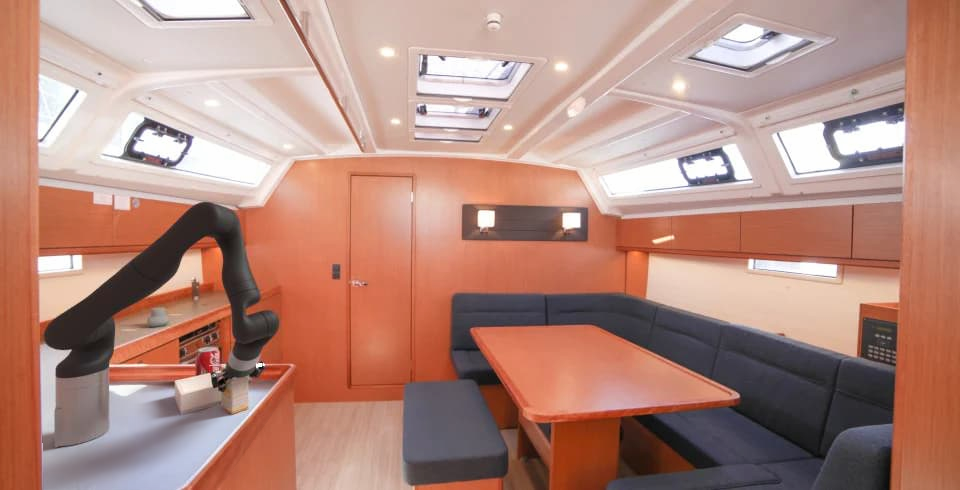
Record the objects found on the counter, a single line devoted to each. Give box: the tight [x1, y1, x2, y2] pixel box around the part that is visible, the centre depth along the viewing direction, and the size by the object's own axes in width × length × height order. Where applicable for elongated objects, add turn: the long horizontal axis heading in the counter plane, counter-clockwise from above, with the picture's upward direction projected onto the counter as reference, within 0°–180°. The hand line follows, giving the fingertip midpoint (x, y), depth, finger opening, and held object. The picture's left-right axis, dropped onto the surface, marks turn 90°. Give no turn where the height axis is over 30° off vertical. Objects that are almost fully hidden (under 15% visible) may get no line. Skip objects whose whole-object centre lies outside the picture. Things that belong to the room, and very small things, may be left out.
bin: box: [174, 370, 221, 416], centre depth 111 cm, size 14×14×6 cm
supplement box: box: [220, 364, 250, 415], centre depth 106 cm, size 8×5×13 cm, turn 56°
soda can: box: [195, 345, 221, 376], centre depth 124 cm, size 7×7×12 cm
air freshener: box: [147, 306, 170, 328], centre depth 194 cm, size 11×8×10 cm
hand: (233, 386), depth 107 cm, fingers closed on supplement box, 5 cm apart
